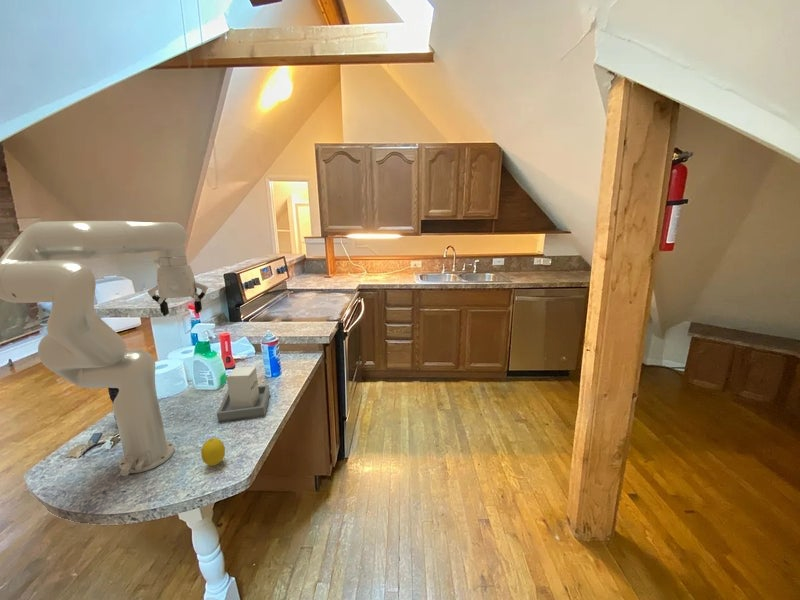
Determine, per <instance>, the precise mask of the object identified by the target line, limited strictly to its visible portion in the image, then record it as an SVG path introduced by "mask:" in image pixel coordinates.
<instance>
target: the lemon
mask: <svg viewBox="0 0 800 600" xmlns="http://www.w3.org/2000/svg"><path fill="white" fill-rule="evenodd" d="M200 455H201V459H202V461H203V462H204V463H205V465H206V466H207V465H208V466H211V467H212V466H217V465H218V464H220V463H221V462H222V461H223V459H224V458H225V456H226V448H225V445H224V443H223V441H222V440H221V439H220V438H216V437H213V438H212V437H211V438H209V439H208V440H206V441H205V442H204V443H203V444H202V447H201V453H200Z"/></svg>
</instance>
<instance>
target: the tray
mask: <svg viewBox="0 0 800 600" xmlns="http://www.w3.org/2000/svg"><path fill="white" fill-rule="evenodd" d="M258 388H259V397H260V399H259V400H258V402H257V403H256V405H255V406H254V407H251V408H244V409H236V410H231V404H230V397H229V390H228V389H227V391H226V393H225V395H224V398H223V399H222V402H221V404H220V406H219V409H218V410H217V413H216V417H217V422H218V424H223V423H222V422H225V423H230V422H238V421H244V420H245V421H246V420H251V419H258V418H265V415H266V412H267V408H268V403H269V399H270V394H271V392H270V385H269V384H265V385H258Z"/></svg>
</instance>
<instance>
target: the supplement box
mask: <svg viewBox="0 0 800 600" xmlns="http://www.w3.org/2000/svg"><path fill="white" fill-rule="evenodd" d="M257 373H258V372H257V366H240V367H239V366H238V367H234V368H233V369H232V371H230V373H229V374H228V375H227V376H226V380H227V388H228V389H227V391H228V390H229V397H230V404H231V410H236V409H244V408H251V407H254V406H255V405H256V403H257V402H258V400H259V399H260V397H259V388H258V386H259V382H258V381H259V380H258V374H257Z"/></svg>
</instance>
